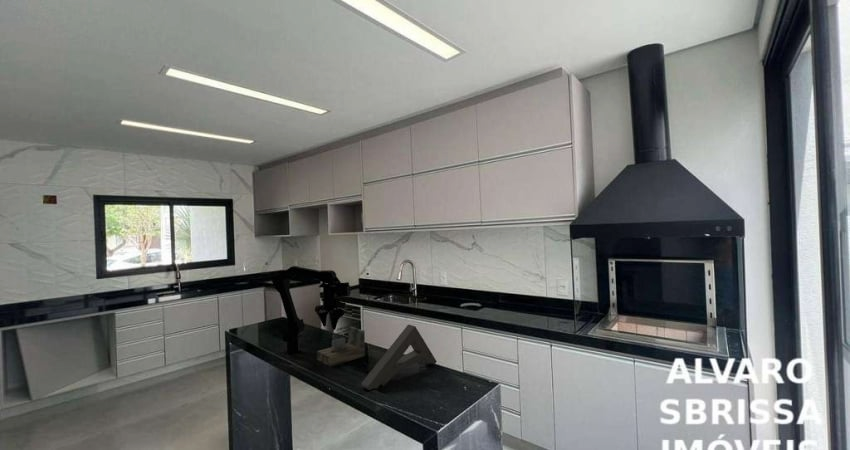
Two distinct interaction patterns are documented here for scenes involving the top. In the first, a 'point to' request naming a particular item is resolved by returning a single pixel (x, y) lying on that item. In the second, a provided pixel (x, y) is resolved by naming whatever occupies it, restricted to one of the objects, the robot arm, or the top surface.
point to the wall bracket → (399, 358)
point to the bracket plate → (338, 345)
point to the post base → (353, 349)
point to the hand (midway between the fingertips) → (329, 328)
